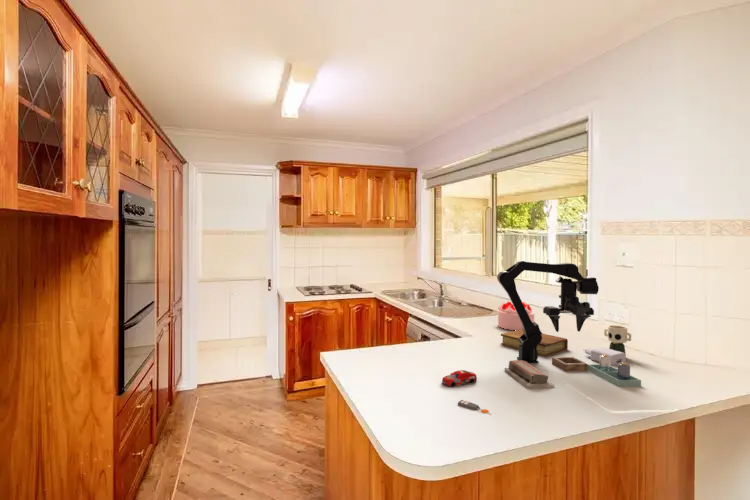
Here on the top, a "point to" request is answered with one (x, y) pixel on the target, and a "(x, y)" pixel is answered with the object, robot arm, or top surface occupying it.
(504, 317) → the cake
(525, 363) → the packaged product
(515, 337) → the diary
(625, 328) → the mug head figurine
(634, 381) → the trough tray
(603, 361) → the steel cell
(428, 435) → the top surface
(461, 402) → the key chain
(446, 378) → the race car
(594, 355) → the charger
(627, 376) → the dark cell
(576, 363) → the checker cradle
